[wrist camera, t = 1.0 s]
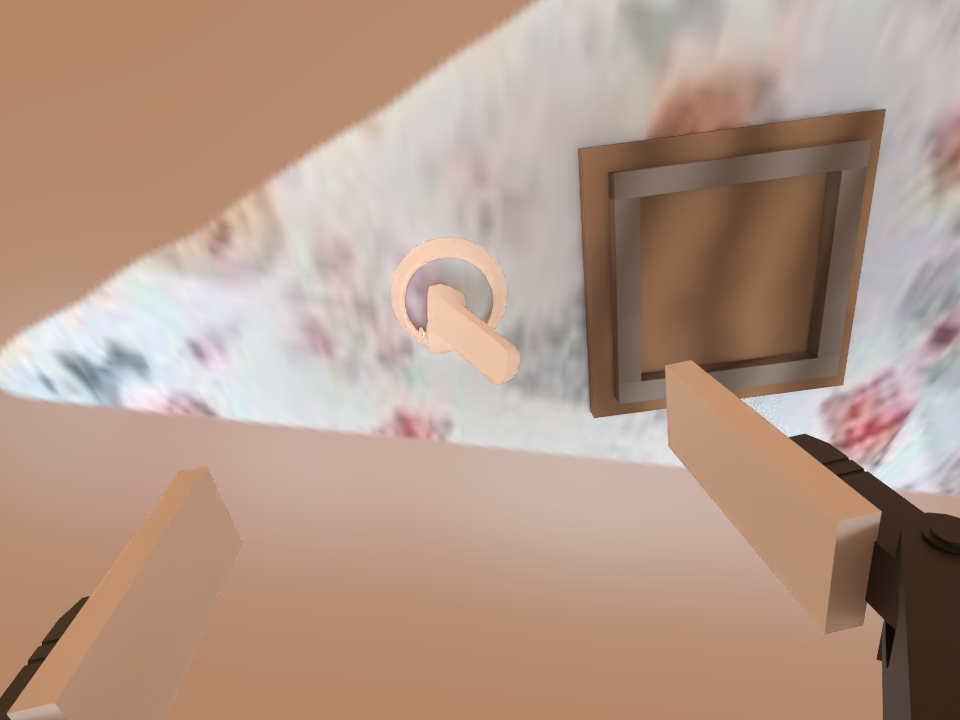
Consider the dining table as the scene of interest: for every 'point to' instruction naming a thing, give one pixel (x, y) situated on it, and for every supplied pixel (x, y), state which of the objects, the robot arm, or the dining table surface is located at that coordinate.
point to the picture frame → (725, 256)
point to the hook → (458, 310)
